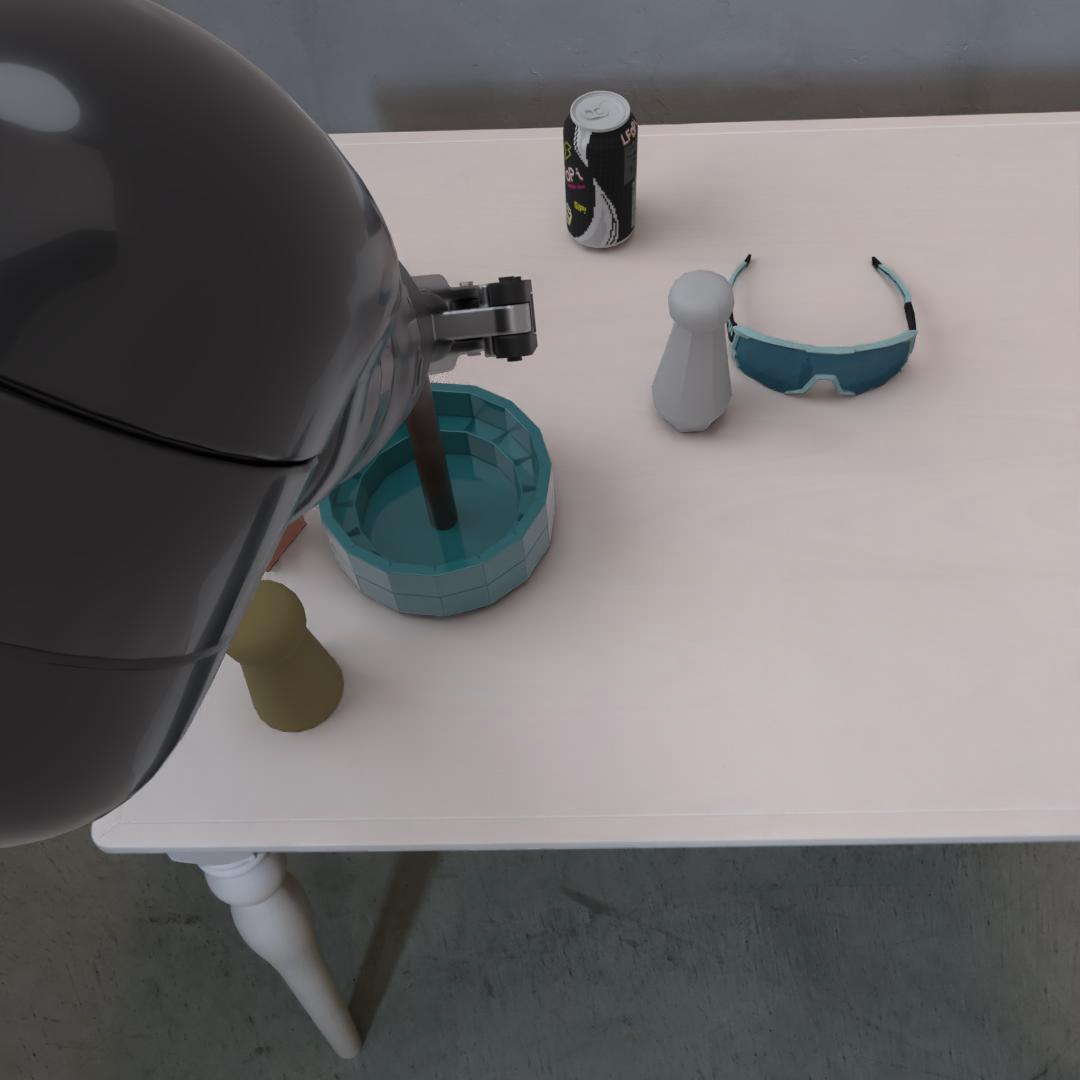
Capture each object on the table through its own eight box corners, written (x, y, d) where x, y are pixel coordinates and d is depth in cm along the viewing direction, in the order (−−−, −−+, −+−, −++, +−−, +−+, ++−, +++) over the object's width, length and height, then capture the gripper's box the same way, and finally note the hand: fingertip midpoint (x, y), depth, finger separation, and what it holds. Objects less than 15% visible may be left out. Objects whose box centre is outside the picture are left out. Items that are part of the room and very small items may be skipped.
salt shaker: (645, 437, 83) (651, 314, 72) (655, 378, 86) (662, 251, 75) (725, 446, 82) (743, 323, 71) (732, 386, 85) (750, 259, 74)
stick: (424, 523, 79) (374, 328, 62) (439, 502, 80) (394, 304, 63) (448, 534, 79) (404, 340, 62) (463, 513, 80) (423, 316, 63)
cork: (309, 748, 71) (264, 674, 62) (233, 706, 73) (178, 628, 64) (362, 671, 74) (326, 589, 65) (287, 633, 76) (242, 548, 67)
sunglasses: (724, 400, 84) (730, 349, 80) (721, 277, 94) (726, 225, 90) (917, 406, 83) (932, 354, 79) (894, 280, 93) (907, 228, 89)
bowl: (291, 561, 79) (269, 514, 74) (412, 406, 86) (400, 353, 81) (480, 657, 74) (470, 613, 69) (593, 484, 81) (591, 434, 76)
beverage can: (556, 219, 96) (550, 97, 86) (617, 199, 97) (618, 76, 87) (583, 263, 93) (580, 142, 83) (646, 241, 94) (651, 119, 84)
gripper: (529, 178, 30) (522, 215, 45) (-11, 233, 30) (170, 251, 45) (556, 460, 31) (541, 400, 47) (45, 513, 31) (201, 436, 47)
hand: (359, 327), depth 46 cm, fingers open, 8 cm apart
